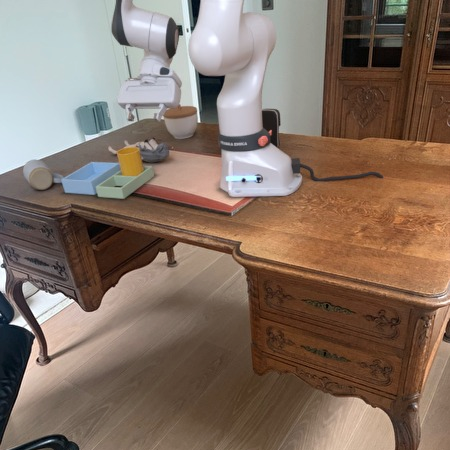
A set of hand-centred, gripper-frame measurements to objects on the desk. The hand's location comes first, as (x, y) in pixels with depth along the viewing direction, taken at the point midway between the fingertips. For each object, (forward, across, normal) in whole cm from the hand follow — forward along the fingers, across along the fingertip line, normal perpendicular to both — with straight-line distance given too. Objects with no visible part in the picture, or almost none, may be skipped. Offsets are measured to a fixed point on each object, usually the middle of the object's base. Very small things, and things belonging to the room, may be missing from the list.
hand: (143, 120), depth 131 cm
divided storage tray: (+21, 0, 0) cm, 21 cm away
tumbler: (+18, 0, +2) cm, 18 cm away
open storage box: (+21, -12, 0) cm, 24 cm away
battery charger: (-6, +32, +27) cm, 42 cm away
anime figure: (+5, -8, +16) cm, 18 cm away
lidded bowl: (-13, -5, +33) cm, 36 cm away
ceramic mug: (+24, -27, -3) cm, 36 cm away
